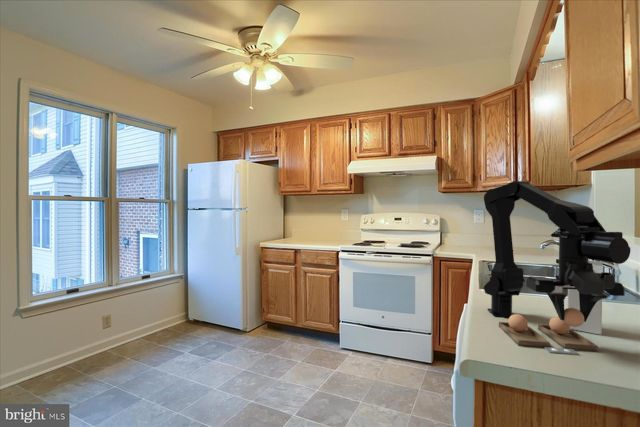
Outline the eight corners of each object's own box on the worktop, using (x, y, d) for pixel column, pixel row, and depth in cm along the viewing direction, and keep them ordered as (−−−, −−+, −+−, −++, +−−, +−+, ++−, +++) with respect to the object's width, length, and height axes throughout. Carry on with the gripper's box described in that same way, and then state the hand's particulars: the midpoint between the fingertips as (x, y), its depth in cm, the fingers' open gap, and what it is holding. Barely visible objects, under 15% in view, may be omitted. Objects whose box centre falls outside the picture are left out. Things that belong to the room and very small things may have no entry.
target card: (544, 348, 76) (544, 346, 76) (572, 350, 75) (572, 348, 75) (549, 352, 74) (549, 351, 74) (578, 354, 73) (578, 353, 73)
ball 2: (545, 329, 87) (545, 313, 87) (563, 331, 86) (564, 314, 86) (554, 336, 82) (554, 319, 82) (573, 337, 82) (573, 320, 82)
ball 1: (505, 327, 89) (505, 311, 88) (523, 328, 88) (523, 312, 88) (512, 333, 84) (512, 316, 84) (530, 334, 83) (530, 317, 83)
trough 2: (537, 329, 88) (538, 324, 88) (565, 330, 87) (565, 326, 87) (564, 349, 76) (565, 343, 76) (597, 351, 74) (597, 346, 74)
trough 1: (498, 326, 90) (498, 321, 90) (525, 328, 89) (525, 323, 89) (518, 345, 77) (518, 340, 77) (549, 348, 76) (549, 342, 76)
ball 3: (557, 322, 81) (557, 305, 81) (577, 323, 80) (577, 306, 80) (567, 328, 77) (567, 310, 77) (588, 330, 76) (588, 311, 76)
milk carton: (568, 322, 94) (569, 257, 94) (600, 327, 90) (601, 260, 89) (567, 329, 89) (568, 260, 88) (601, 335, 84) (602, 263, 84)
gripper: (548, 261, 72) (547, 330, 72) (644, 263, 69) (643, 336, 69) (525, 254, 83) (525, 314, 83) (608, 256, 80) (607, 318, 80)
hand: (572, 320), depth 79 cm, fingers closed on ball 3, 4 cm apart
